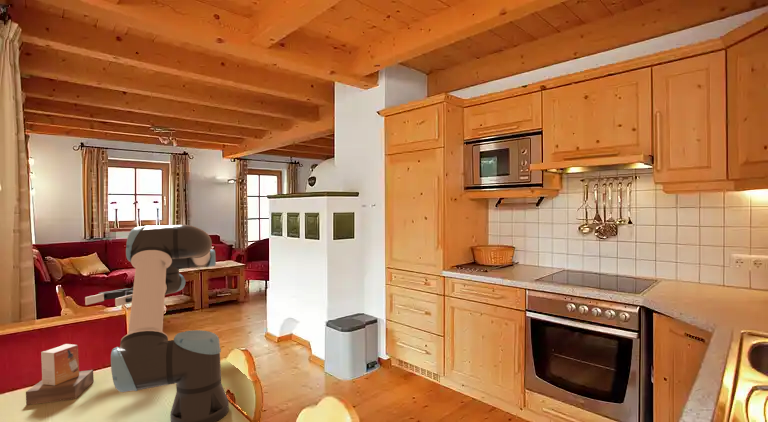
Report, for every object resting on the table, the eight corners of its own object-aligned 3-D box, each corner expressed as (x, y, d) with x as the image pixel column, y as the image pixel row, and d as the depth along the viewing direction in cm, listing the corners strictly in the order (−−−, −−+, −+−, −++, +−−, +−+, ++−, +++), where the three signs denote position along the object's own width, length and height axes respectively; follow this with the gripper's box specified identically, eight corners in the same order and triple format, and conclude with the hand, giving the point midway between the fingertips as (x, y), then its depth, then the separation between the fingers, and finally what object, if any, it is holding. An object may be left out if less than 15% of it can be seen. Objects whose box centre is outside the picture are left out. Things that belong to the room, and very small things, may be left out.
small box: (54, 386, 128) (53, 353, 128) (41, 384, 130) (40, 351, 130) (80, 375, 136) (78, 344, 136) (67, 374, 138) (66, 343, 137)
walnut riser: (75, 398, 128) (74, 386, 128) (26, 404, 125) (25, 391, 125) (93, 381, 141) (93, 369, 141) (49, 386, 138) (49, 374, 138)
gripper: (176, 299, 160) (129, 314, 139) (126, 297, 166) (74, 311, 146) (176, 280, 160) (128, 292, 139) (125, 279, 166) (73, 290, 146)
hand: (100, 301), depth 143 cm, fingers open, 13 cm apart
